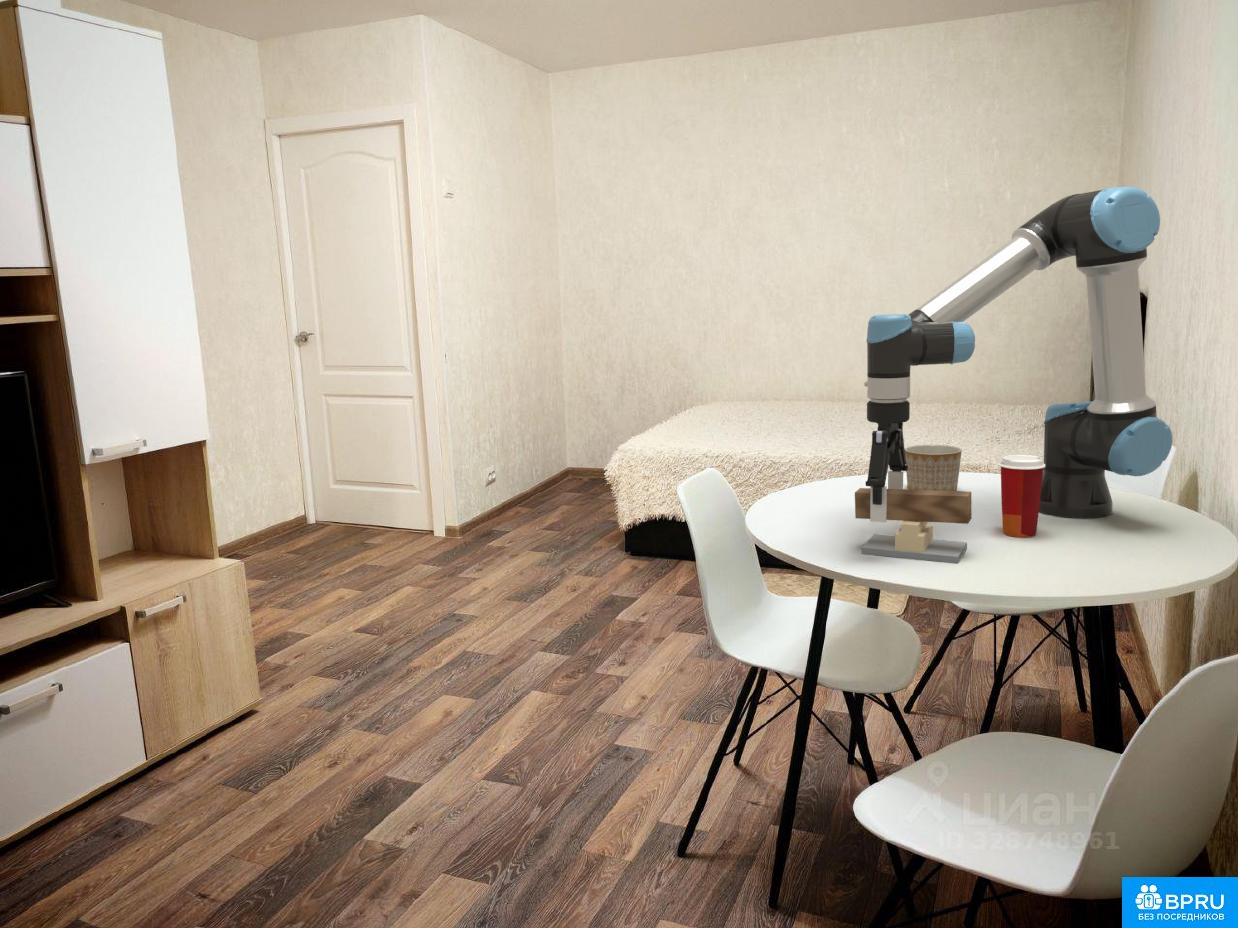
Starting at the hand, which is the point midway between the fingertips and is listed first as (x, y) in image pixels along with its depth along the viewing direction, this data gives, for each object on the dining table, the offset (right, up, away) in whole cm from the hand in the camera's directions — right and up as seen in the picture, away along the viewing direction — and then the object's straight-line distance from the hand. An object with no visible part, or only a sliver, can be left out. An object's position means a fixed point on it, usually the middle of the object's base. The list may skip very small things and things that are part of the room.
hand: (887, 512), depth 169 cm
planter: (+24, +2, +44) cm, 51 cm away
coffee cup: (+28, -5, +7) cm, 29 cm away
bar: (+4, -1, -2) cm, 5 cm away
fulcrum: (+5, -7, -1) cm, 9 cm away
